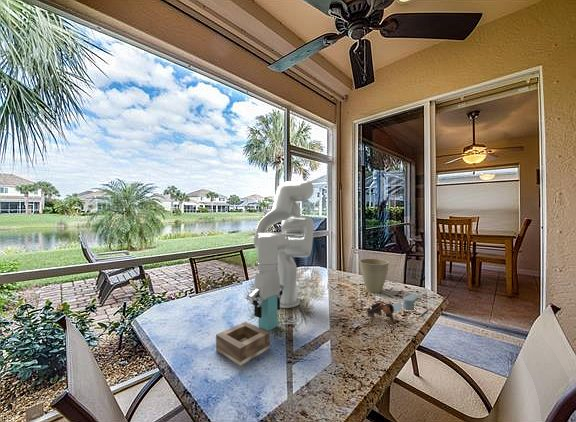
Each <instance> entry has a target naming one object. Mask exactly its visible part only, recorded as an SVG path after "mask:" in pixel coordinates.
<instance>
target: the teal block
mask: <svg viewBox="0 0 576 422" xmlns="http://www.w3.org/2000/svg"><path fill="white" fill-rule="evenodd" d="M260 298H261V297H260ZM260 306H261V307H262V317H261V318H259V317H258V328H261V329H263V330H265V331H267V332H270V331H271V330H273V329H274V328H276V327H278V310H277V295H275V296H272V297H269V298H267V299H266V300H263V302H262V304H261V305H260Z"/></svg>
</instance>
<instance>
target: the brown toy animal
mask: <svg viewBox="0 0 576 422" xmlns="http://www.w3.org/2000/svg"><path fill="white" fill-rule="evenodd" d="M393 305H394V304H391V303H390V302H389V303H385V304H384V302H381V301H379V302H377V303H374V304H372V305H371V306H370V307H368V308H366V312H367V317H368V318H372V319H374V318H375V314H376V315H378V316H383V313H384V314H385V316H386V317H387V318H389V319H388V320H386V321H387V324H388V327H389V326H390V325H392V326H394V324H395V320H394V316H393V314H394V313H395V312H394V307H393ZM382 311H383V313H382ZM390 327H391V326H390Z"/></svg>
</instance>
